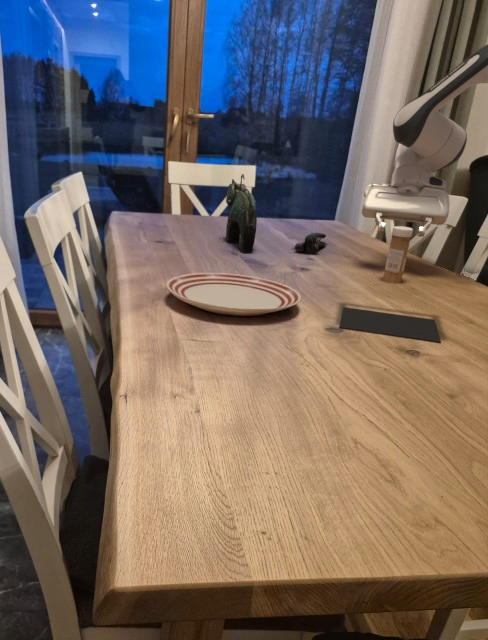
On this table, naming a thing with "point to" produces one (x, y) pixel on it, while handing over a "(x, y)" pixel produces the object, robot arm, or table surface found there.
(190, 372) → the table surface
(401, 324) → the rubber mat
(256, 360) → the table surface
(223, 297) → the dinner plate
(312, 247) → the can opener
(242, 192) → the green horse figurine
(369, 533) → the table surface
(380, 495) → the table surface
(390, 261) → the sprinkles bottle
